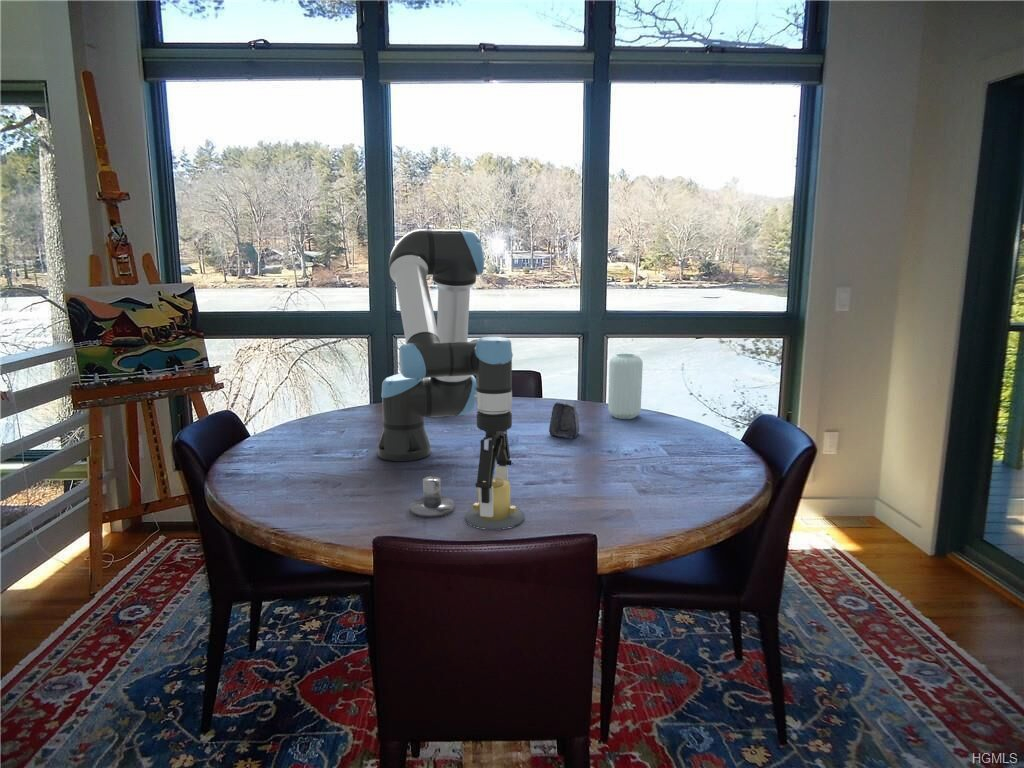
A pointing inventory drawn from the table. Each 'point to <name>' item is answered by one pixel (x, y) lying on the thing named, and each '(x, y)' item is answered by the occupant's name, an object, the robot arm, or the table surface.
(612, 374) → the vase
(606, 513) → the table surface
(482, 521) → the rubber mat
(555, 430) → the stone
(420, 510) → the metal disc with peg
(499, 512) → the cap
